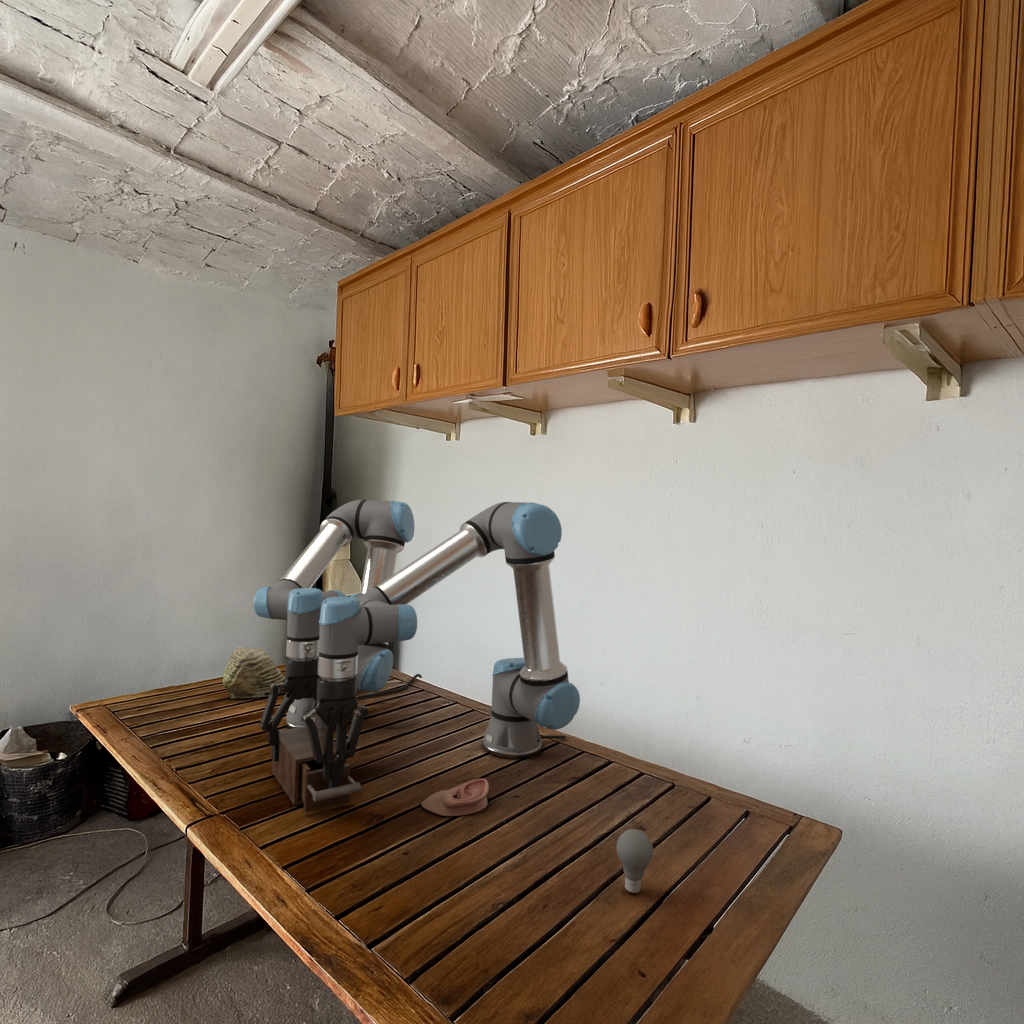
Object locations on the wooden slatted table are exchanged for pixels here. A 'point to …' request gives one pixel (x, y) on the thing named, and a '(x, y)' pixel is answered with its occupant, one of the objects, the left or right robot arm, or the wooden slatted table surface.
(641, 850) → the light bulb
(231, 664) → the fossil
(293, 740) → the cabinet
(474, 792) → the anatomical model
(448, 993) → the wooden slatted table surface
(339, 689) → the right robot arm
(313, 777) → the drawer
